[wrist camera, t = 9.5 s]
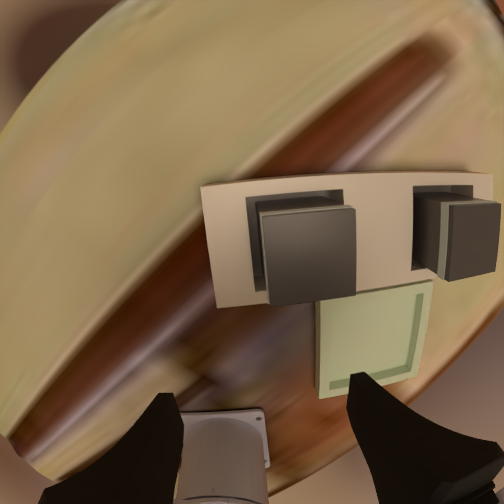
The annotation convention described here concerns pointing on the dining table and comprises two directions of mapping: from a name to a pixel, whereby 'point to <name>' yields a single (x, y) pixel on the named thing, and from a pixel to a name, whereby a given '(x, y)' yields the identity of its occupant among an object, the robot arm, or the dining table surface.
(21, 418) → the dining table surface
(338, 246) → the twin plug
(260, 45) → the dining table surface
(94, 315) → the dining table surface
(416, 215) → the plug
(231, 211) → the strip
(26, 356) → the dining table surface
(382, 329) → the tray
